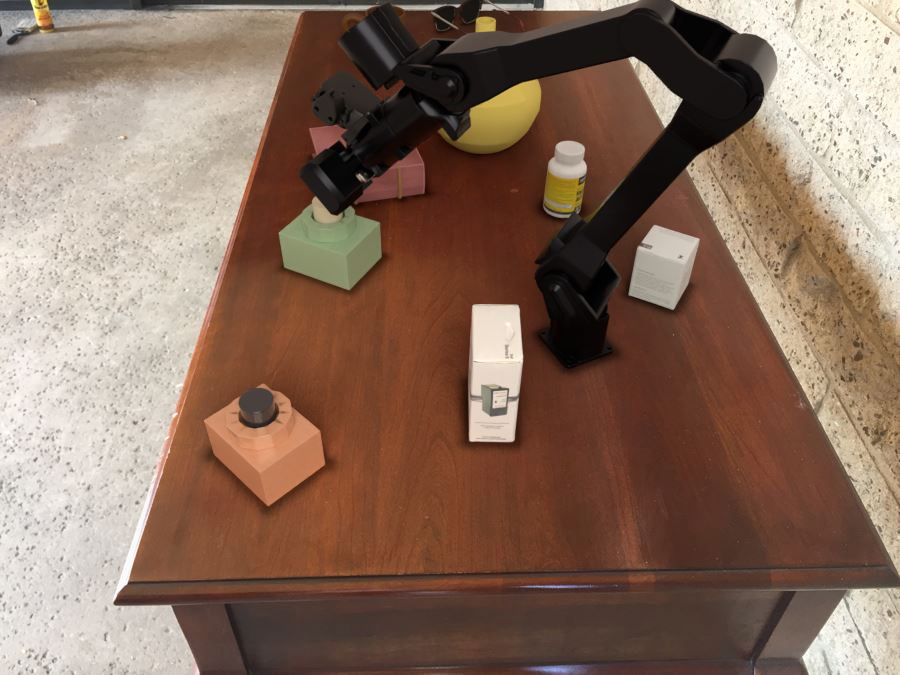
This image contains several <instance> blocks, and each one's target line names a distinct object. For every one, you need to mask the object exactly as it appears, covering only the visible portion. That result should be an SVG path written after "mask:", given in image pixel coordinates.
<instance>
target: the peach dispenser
mask: <svg viewBox="0 0 900 675" xmlns="http://www.w3.org/2000/svg"><path fill="white" fill-rule="evenodd" d="M255 388H264V389H267V390H269V391H270V392H271V393H272V394H273V397H274V402H275V407H276V413H277V414H276V417H275V419H274V421H273V422H272V423H270V424H269V425H267V426H265V427H261V428H252V427H249V426H247V425H246V424H245V423H244V422H243V420H242V416H241V412H240V408H239V404H238V402H239V398H240V397H241V395H240V396H238V397H237V398H235V399H233V400H232V401H231V403H229V404H228V405H226V406H224V407H223V408H221V409H220V410H218V411H216V412H215V413H213V414H211V415H209V416H208V417H207V418H205V419H204V420H203V422H204V426H205V429H206V433H207V435H208V439H209V443H210V445H211V446H210V447H211V450H212V452H213V455H214V456H215V457H216V458H217V459H218V460H219V461H220V462H221V463H222V464H223V465H224V466H225V467H226V468H227V469H228V470H230V471H231V473H232V474H234V475H235V477H237V478H238V479H239V480H240V481H241V482H242V483H243V484H244V485H245V486H246V487H247V488H248V489H249V490H250V491H251V492H253V494H255V496H256V497H257V498H259V500H261V502H263V503H264V504H265V505H266V506H267V507H270V506H271V505H272V504H274V503H275V502H276V501H278V500H279V499H280V498H282V497H284V495H286V494H287V493H289V492H290V491H292V490H293V489H294V488H295V487H297V486H299V484H301V483H302V482H304V481H305V480H307V479H308V478H309V477H310V476H312V475H313V474H315V473H316V472H318V470H320V469H321V468H323V467H324V466H325V465H326V459H325V453H324V447H323V446H324V445H323V441H322V433H321V430H320V429H319V428H318V427H317V426H315V425H314V424H313V423H312V422H311V421H309V420H308V419H307V417H304V416H303V415H302V414H301V413H300V412H299V411H297V410H296V409H295V408H294V407H292V403H291V399H289V398H288V397H287V396H286V395H285V394H283V392H281V391H278V390H272V389H271V388H270V387H269V386H268V385H266V384H265V383H260V384H259V385H258V386H256V387H255Z"/></svg>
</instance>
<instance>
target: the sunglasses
mask: <svg viewBox="0 0 900 675" xmlns="http://www.w3.org/2000/svg"><path fill="white" fill-rule="evenodd" d="M484 2H486V3H487V4H490V5H491V6H493V7H494V8H497V9H498V10H500V11H502V12H504V13H505V14H507V15H509V16H510V17H512V18H513V19H515V20H517V22H518V23H519V24H520V27H521V29H522V33H524V32H527V31H526V29H525V28H526V27H525V26H524V23H523V21H522V20H521V19H520V18H519V17H518V16H516V15H514V14H512V13H511V12H509V11H508V10H505V9H504V8H502V7H500V6H498V5H496V4H494V3H493V2H491V1H490V0H465V1H463V2H462V3H461V4H460V5H459V6H457V7H456V6H455V5H448V4H447V5H442V6H440V7H437V8H435V9H433V10H431V16H432V19H433V23H434V24H435V28H436V30H437V31H440V32H444V31H447V30H449V29H450V28H451V27H452V28H454V29H456V30H457V31H458V32H460V33H461V34H463V35H466V34H468V33H469V32H467V31H465V30H463V29H461V28H459V27H457V26H456V25H454V22H455V21H456V20H457V19H456V18H457V16H458V14H459V16H460V18H461V20H462V21H463V23H464V24H471V23H473V22H475V21H476V19H477V18H479V14H480V11H482V8H483V3H484Z"/></svg>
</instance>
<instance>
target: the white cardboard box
mask: <svg viewBox="0 0 900 675" xmlns="http://www.w3.org/2000/svg"><path fill="white" fill-rule="evenodd" d="M699 245H700V238H698V237H696V236H691V235H689V234H685V233H682V232H679V231H676V230H672V229H669V228H666V227H663V226H660V225H657V224H653V226H652V227H651V228H650V230H649V231H648V232H647V233H646V235H645V237H644V238H643V239H642V241H641V242H640V243H639V245H638V246H637V248H636V252H635V257H634V262H633V267H632V273H631V278H630V283H629V288H628V296H630V297H634V298H637V299H640V300H642V301H646V302H648V303H651V304H655V305H657V306H661V307H663V308H666V309H668V310H671V311H674V310H675V308H676V306H677V305H678V304H679V301H680V300H681V298H682V296H683V294H684V292H685V290H686V289H687V287H688V285H689V283H690V278H691V275H692V271H693V267H694V263H695V260H696V256H697V252H698V249H699Z"/></svg>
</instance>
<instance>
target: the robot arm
mask: <svg viewBox="0 0 900 675" xmlns="http://www.w3.org/2000/svg"><path fill="white" fill-rule="evenodd" d="M377 6H378V7H377V8H376V9H375V10H374V11H373V12H372V13H371V14H369V15H368V16H367V17H365V18H364V19H363V20H362V21H360V22H359V23H355V25H353V26H350V29H348V30H347V31H346V32H345V33H344V32H343V34H342V35H341V36H340V37H339V39H338V40H337V43H336V44H338V46H339V47H340V48H341V50H342V51H343V52H344V53H345V55H346V56H347V57H348V58H349V60H350V61H351V62H352V64H353V65H354V66H355V67H356V69H357V70H358V71H359V73H360V74H361V75H362V76H363V78H364V79H365V80H366V82H367V83H368V84H369V85H370V87H371V88H372V89H373V90H372V89H371V88H370V87H369V86H368V85H366V84H364V82H362V81H360V80H359V79H358V78H356V77H355V76H354V75H352V74H351V73H350V72H348V71H345V70H339V71H337V72H335V73H334V74H333V75H331V76H330V77H328V78H327V79H325V80H324V81H322V83H321V85H320V87H319V88H318V89H317V91H316V93H315V94H314V95H312V96H310V101H311V103H312V104H313V105H312V106H311V107H312V108H311V112H312V114H313V116H314V117H316V118H317V119H318V120H320V121H321V122H322V123H323V124H325V125H326V126H334V125H338V126H339V127H341V128H343V129H347V131H345V132H344V133H343V134H342V135H341V137H342V139H343V140H344V141H345V142H346V147H345V146H344V145H343V144H342V142H341V141H340V140H338V141H337V142H336V143H335V144H333V145H332V146H331V147H330V148H328V149H327V148H326V149H324V150H323V151H322V152H320V153H319V154H318V155H317V156H315V157H314V158H313V157H312V159H310V160H308V162H306V163H305V164H304V165H303V166H301V168H299V169H298V173H299V174H298V175H299V178H300V179H301V181H303V183H304V184H305V185H306V187H307V188H308V189H309V190H310V191H311V192H312V194H313V195H314V197H317V198H318V200H319V201H320V202H321V203H322V204H323V206H324V207H325V208H326V209H327V210H328V212H329V213H330V214H331V215H335V216H338V215H339V214H341V213H342V212H343V211H345V210H346V209H347V208H348V207H349V206H352V205H353V204H354V202H355V201H356V200H357V199H358V198H359V197H360V196H362V195H363V191H364V190H365V189H366V188H368V187H369V186H370V185H371V184H372V183H373V181H372V180H371V179H372V178H376V177H378V178H379V177H380V176H381V175H383V174H384V173H385V172H386V171H387V170H388V169H390V168H391V167H392V166H393V165H394V164H395V163H397V162H398V161H399V160H400V161H401V160H402V159H404V158H405V157H406V156H407V155H409V154H410V153H411V152H412V151H413V150H414V149H415V148H418V147H419V146H420V145H422V144H423V143H425V141H427V140H428V139H430V138H431V137H432V136H434V135H435V134H436V133H438V130H440V129H441V128H443V129H444V131H445V132H446V133H447V135H448V136H449V137H450V138H451V140H452V141H457V140H458V139H459V138H460V137H461V136H462V135H463V134H464V133H465V132H466V131H467V130H468V129H469V128H470V127H471V118H470V111H471V108H473V107H475V106H477V105H480V104H482V103H484V102H486V101H488V100H490V99H492V98H494V97H496V96H497V95H499V94H501V93H503V92H504V91H506V90H508V89H510V88H512V87H514V86H516V85H518V84H520V83H523V82H528V81H532V80H536V79H538V80H540V79H545V78H549V77H553V76H556V75H561V74H566V73H570V72H574V71H579V70H583V69H587V68H591V67H596V66H600V65H604V64H609V63H612V62H617V61H622V60H627V59H630V58H635V59H636V60H638V61H639V62H641V63H642V64H644V65H645V66H647V67H648V69H649V70H651V72H652V73H653V74H654V75H655V76H656V77H657V79H659V81H660V82H661V83H662V84H663V86H665V87H666V89H668V91H670V92H671V93H672V94H673V95H675V96H677V97H678V98H679V99H681V101H680V103H679V105H678V107H677V109H676V111H674V112H675V113H674V115H673V116H672V118H671V120H670V121H669V122H668V124H667V125H666V126H665V127H664V128H663V130H662V131H661V132H660V133H659V134H658V136H657V137H656V138H655V139H654V140H653V141H652V143H651V144H650V145H649V146H648V148H647V149H646V150H645V151H644V152H643V154H642V155H641V156H640V157H639V158H638V160H636V162H634V165H632V167H631V168H630V169H629V170H628V171H627V173H626V174H625V175H624V176H623V177H622V179H621V180H620V181H619V182H618V183H617V185H615V187H614V188H613V189H612V190H611V192H610V193H609V194H608V195H607V196H606V197H605V199H604V200H603V201H602V202H601V203H600V204H599V206H597V208H596V209H595V211H594V212H591V214H589V215H587V216H586V217H583V218H582V216H581V215H579V213H578V214H577V213H576V212H575V211H573V212H572V214H571V215H570V216H569V218H566V221H565V222H564V224H563V225H562V226H561V227H560V228H559V229H557V230H556V231H555V232H554V234H553V235H552V236H551V238H550V239H549V240H548V242H547V243H546V245H545V246H544V247H543V249H542V250H541V251H540V253H539V254H538V256H537V257H536V258H535V260H534V264H535V265H538V266H537V268H536V270H535V272H534V276H533V280H534V281H535V283H536V287H537V288H538V290H539V291H540V293H541V294H542V298H543V302H544V305H545V309H546V312H547V315H548V318H549V320H550V322H549V326H550V327H548V328H545V329H542V330H540V331H539V332H538V338H539V339H540V341H542V342H543V343H544V345H545V346H546V347H547V348H548V349H549V350H550V352H551V353H552V354H553V355H554V356H555V357H556V358H557V360H558V361H559V362H560V363H561V364H562V366H563V367H564V368H565V369H573V368H576V367H579V366H581V365H584V364H587V363H589V362H592V361H595V360H598V359H601V358H603V357H607V356H610V355H611V354H613V353H614V347H613V346H612V345H611V344H610V343H609V341H607V339H606V337H607V331H608V328H609V322H610V318H611V315H610V314H609V312H608V309H609V304H608V303H609V301H610V300H611V298H612V296H613V294H614V292H615V291H616V289H617V287H618V286H619V284H620V282H621V280H622V276H621V274H620V273H619V271H618V270H617V269H616V267H615V266H614V265H613V263H611V261H610V259H608V257H609V255H610V253H611V251H612V250H613V248H614V247H615V246H616V245H617V244H618V243H619V241H620V240H621V239H623V237H624V236H625V235H626V234H627V233H628V232H629V230H631V228H632V227H633V226H634V225H635V224H637V222H638V221H639V220H640V219H641V218H642V216H643V215H644V214H645V213H646V212H648V210H649V209H650V208H651V207H652V206H653V205H654V204H655V202H656V201H657V200H658V199H659V198H660V197H661V196H662V195H663V194H664V193H665V192H666V190H667V189H668V188H669V187H670V186H671V185H672V184H673V183H674V182H675V180H677V178H678V177H680V175H681V174H682V173H683V172H684V171H685V170H686V168H687V167H688V166H690V164H691V163H692V162H693V161H694V160H695V159H696V158H697V157H698V156H699V155H701V154H702V153H704V152H706V151H707V150H710V149H711V148H713V147H715V146H716V145H719V144H720V143H723V142H724V141H725V140H727V139H728V138H729V137H731V136H732V135H733V134H734V133H737V131H739V130H740V129H741V128H742V127H744V126H745V125H746V124H748V123H749V122H751V120H753V118H755V117H756V116H757V114H758V112H759V111H760V109H761V108H762V105H763V103H764V101H765V99H766V97H767V95H768V93H769V91H770V89H771V87H772V85H773V83H774V80H775V79H776V76H777V72H778V68H779V67H778V57H777V54H776V52H775V49H774V47H773V46H772V45H771V44H770V43H769V41H767V39H765V38H763V37H762V36H759V35H757V34H753V33H747V32H743V33H741V32H738V31H737V30H735V29H734V28H731V27H730V26H729V25H727V24H725V23H724V22H722V21H720V20H718V19H715V18H713V17H709V16H707V15H704V14H701V13H698V12H695V11H693V10H689V9H686V8H684V7H683V6H681V5H680V4H678V3H677V2H675V1H673V0H636V1H634V2H630V3H627V4H623V5H620V6H616V7H612V8H608V9H605V10H602V11H601V10H600V11H598V12H595V13H591V14H587V15H584V16H580V17H576V18H573V19H569V20H565V21H562V22H557V23H555V24H551V25H547V26H543V27H539V28H536V29H532V30H529V31H526V32H506V31H502V30H495V31H488V32H467V33H468V34H466V35H465V34H463V35H462V36H460V37H459V38H444V37H441V38H440V37H433V38H430V39H428V40H427V42H425V43H424V44H422V45H420V44H419V42H418V41H417V39H416V38H414V36H413V35H412V33H411V32H410V31H409V29H408V28H407V26H406V27H405V25H404V24H403V23H402V21H401V20H400V18H399V16H398V14H397V12H396V11H395V9H394V8H393V6H394V5H393V6H392V4H391V2H390V1H385V2H382V3H381V4H380V6H379V5H377ZM401 81H402V82H403V84H404V85H403V86H402V87H400V88H399V89H398V90H397V91H396V92H395V93H394V94H392V95H388V96H386V97H385V98H384V99H383V100H382V99H381V98H379V96H377V95H376V94H375V92H377V91H378V90H380V89H381V88H382V87H383V88H384V89H385V90H386V91H388V90H390V89H391V88H393V87H394V86H396V84H398V83H399V82H401ZM374 91H375V92H374Z"/></svg>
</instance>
